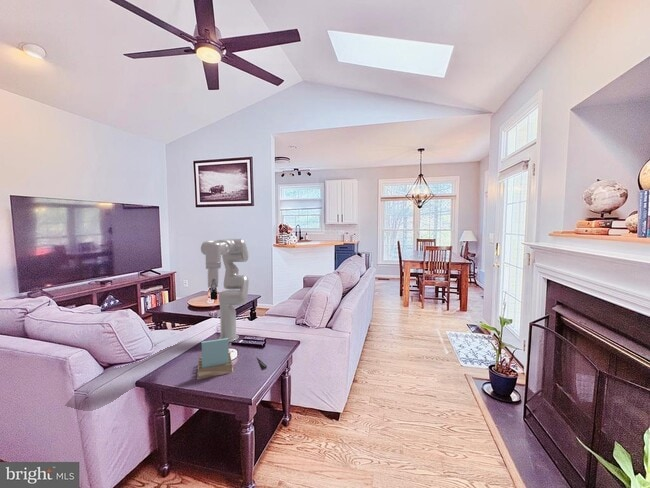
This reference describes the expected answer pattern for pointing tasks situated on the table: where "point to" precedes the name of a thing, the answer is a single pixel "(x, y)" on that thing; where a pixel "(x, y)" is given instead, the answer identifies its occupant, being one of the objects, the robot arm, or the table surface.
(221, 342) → the tall sheet
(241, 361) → the table surface
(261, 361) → the phone
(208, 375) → the rack
